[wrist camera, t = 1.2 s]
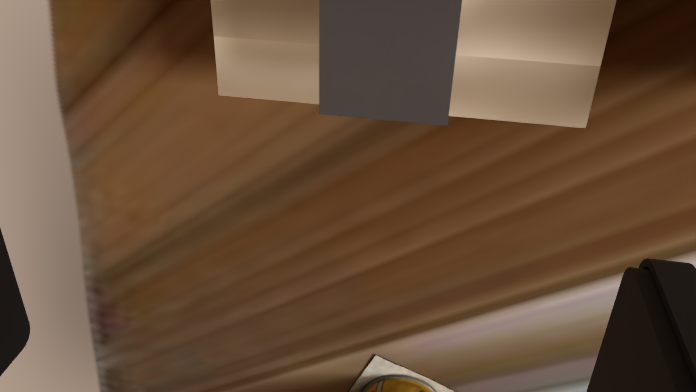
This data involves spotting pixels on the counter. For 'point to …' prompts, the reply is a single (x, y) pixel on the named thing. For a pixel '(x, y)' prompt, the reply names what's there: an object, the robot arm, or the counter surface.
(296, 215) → the counter surface
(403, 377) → the condiment
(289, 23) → the socket board
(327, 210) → the counter surface
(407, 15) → the plug
